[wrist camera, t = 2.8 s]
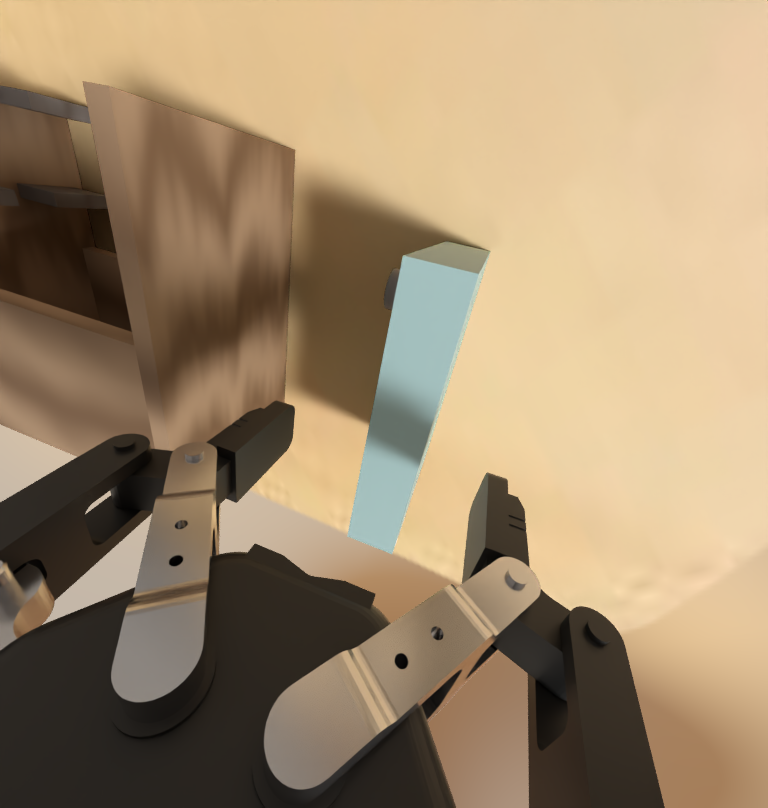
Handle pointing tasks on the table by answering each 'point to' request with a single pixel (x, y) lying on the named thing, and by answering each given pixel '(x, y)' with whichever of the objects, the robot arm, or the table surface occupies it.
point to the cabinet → (139, 272)
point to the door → (412, 381)
